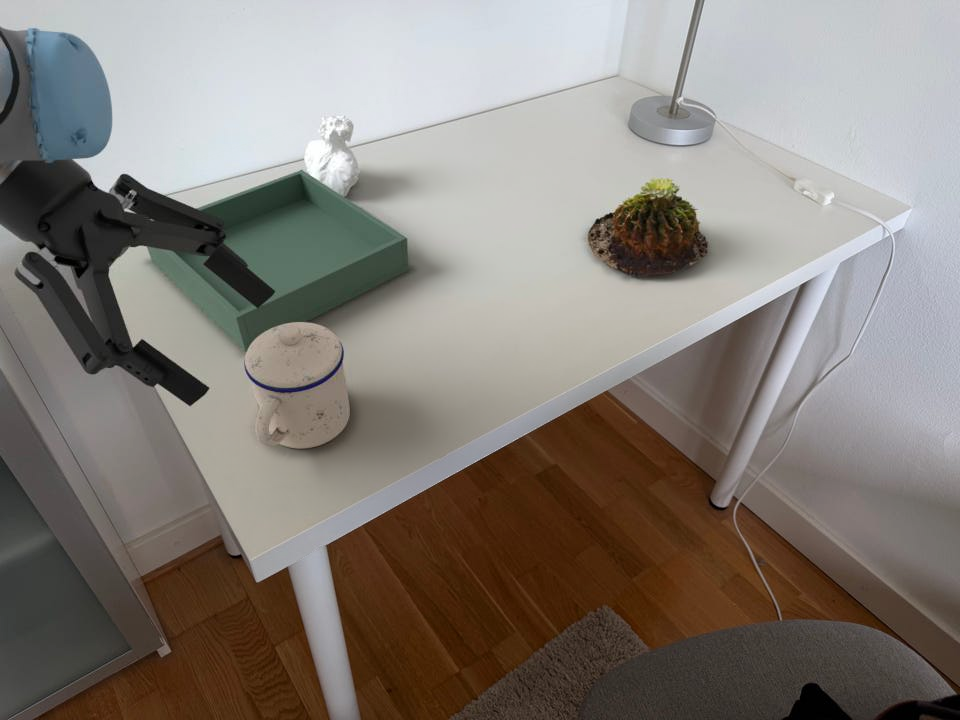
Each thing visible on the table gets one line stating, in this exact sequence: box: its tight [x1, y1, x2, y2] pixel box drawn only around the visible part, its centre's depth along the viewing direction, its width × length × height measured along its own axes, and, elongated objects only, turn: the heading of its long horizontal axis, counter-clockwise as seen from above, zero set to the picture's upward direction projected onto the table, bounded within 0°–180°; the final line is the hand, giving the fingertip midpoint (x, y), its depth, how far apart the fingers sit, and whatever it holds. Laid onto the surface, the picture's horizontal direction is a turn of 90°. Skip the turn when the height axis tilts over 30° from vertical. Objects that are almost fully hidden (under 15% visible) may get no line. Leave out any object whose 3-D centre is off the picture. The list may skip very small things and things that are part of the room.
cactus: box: [587, 177, 709, 277], centre depth 92 cm, size 17×16×10 cm
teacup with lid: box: [243, 321, 351, 449], centre depth 65 cm, size 12×9×12 cm
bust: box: [304, 114, 361, 197], centre depth 102 cm, size 12×8×11 cm
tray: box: [146, 169, 410, 353], centre depth 87 cm, size 24×24×5 cm
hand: (236, 345), depth 63 cm, fingers open, 13 cm apart
